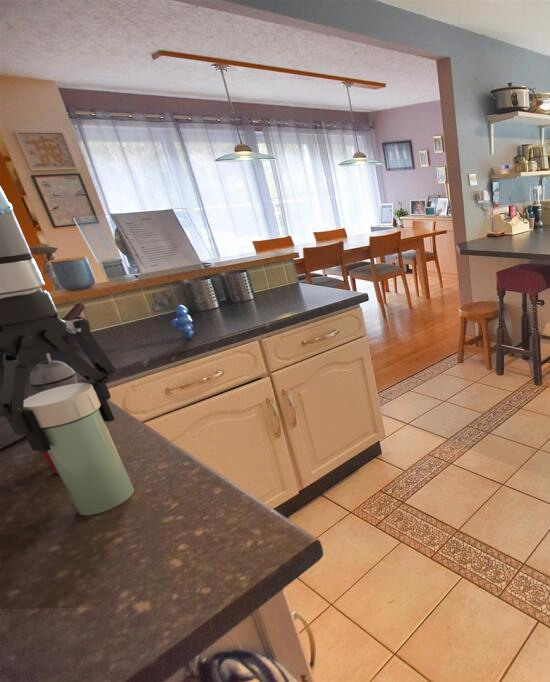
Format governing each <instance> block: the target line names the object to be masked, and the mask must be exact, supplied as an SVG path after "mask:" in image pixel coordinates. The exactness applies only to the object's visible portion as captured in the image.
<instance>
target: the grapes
mask: <svg viewBox="0 0 550 682" xmlns="http://www.w3.org/2000/svg"><path fill="white" fill-rule="evenodd" d="M175 311H176V312H175V316H176V318H174V319H173V320H172V321H171V322H170V324H169V325H170V326H171V327H173V328H176V329H179V331H180V333H182V337H184V338H185V339H188V340H189V339H192V337H193V335H194V334H195V331H194V330H192V329H193V327H194V325H193V324H192V323H193V321H194V320H193V319H192V317H191V316H190V315H189V314H188V313H189V309H188V308H187V307H185V306H184V305H182V304H179V305H177V307H176V308H175Z"/></svg>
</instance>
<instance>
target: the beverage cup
mask: <svg viewBox="0 0 550 682" xmlns="http://www.w3.org/2000/svg"><path fill="white" fill-rule="evenodd" d="M45 355H46V359H47V361H43V362H40V363H38V364H37V365H35V366H34V367H33V368H32V370H31V371H30V373H29V383H30V387H32V388H33V390H34V391H35V392H36V394H38V393H40V392H43V391H46V390H49V389H53V388H56V387H61V386H65V385H70V384H77V383H78V378H77V372H76V371H74V370H73V369H72V368H71V367H69V366H68V365H67V364H66V363H64V362H63V361H61V360H52V358H51V353H47V354H45Z"/></svg>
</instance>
